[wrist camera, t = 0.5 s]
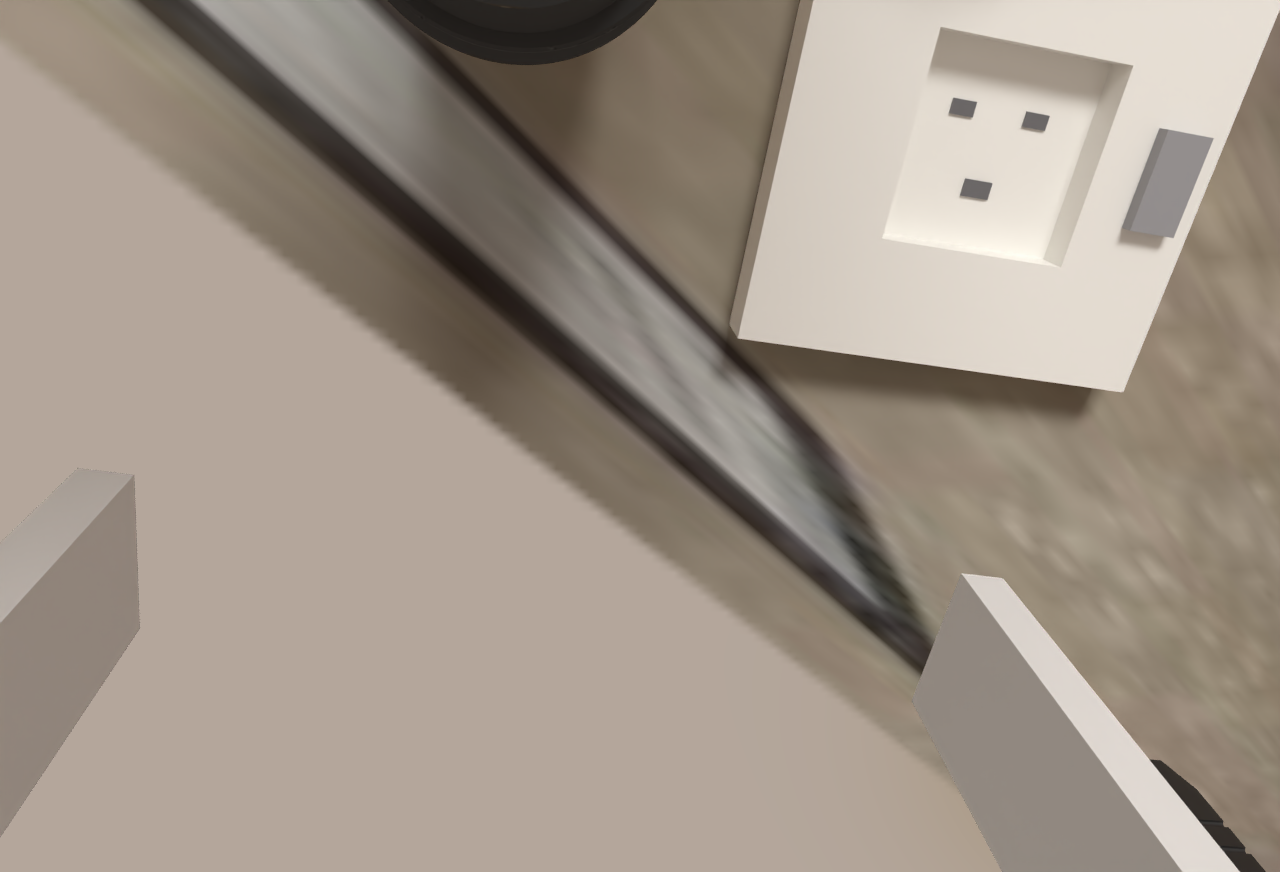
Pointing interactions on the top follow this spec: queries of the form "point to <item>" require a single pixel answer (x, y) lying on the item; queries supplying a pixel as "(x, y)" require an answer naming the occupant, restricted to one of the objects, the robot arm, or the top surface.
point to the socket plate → (990, 177)
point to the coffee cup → (523, 26)
